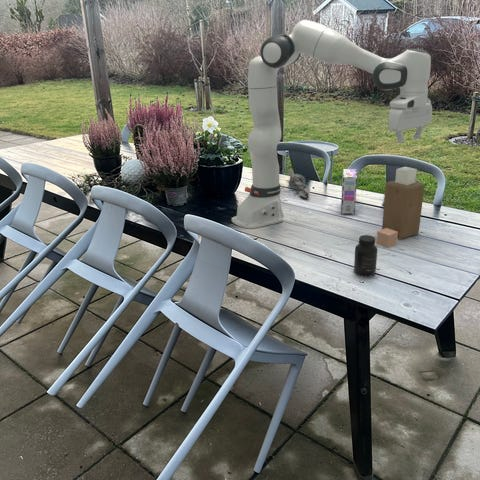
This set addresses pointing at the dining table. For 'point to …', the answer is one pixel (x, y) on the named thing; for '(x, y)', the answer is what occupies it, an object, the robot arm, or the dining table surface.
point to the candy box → (348, 191)
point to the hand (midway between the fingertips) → (408, 140)
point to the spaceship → (299, 184)
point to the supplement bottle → (365, 256)
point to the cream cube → (405, 175)
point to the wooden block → (403, 208)
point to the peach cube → (387, 237)
